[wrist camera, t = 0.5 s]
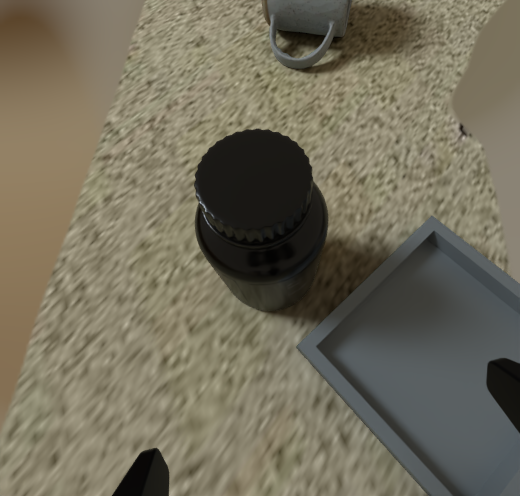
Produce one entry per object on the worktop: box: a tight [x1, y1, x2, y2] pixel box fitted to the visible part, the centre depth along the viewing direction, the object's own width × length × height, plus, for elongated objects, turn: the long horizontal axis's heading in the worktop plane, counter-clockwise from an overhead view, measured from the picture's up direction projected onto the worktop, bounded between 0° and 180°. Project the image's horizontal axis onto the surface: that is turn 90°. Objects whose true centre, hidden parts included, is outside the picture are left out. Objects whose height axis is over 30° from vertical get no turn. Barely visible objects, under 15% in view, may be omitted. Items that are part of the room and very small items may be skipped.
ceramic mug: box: [262, 0, 352, 69], centre depth 28 cm, size 11×8×8 cm
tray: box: [296, 216, 520, 496], centre depth 19 cm, size 13×13×2 cm
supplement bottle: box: [194, 129, 328, 311], centre depth 18 cm, size 7×7×12 cm
